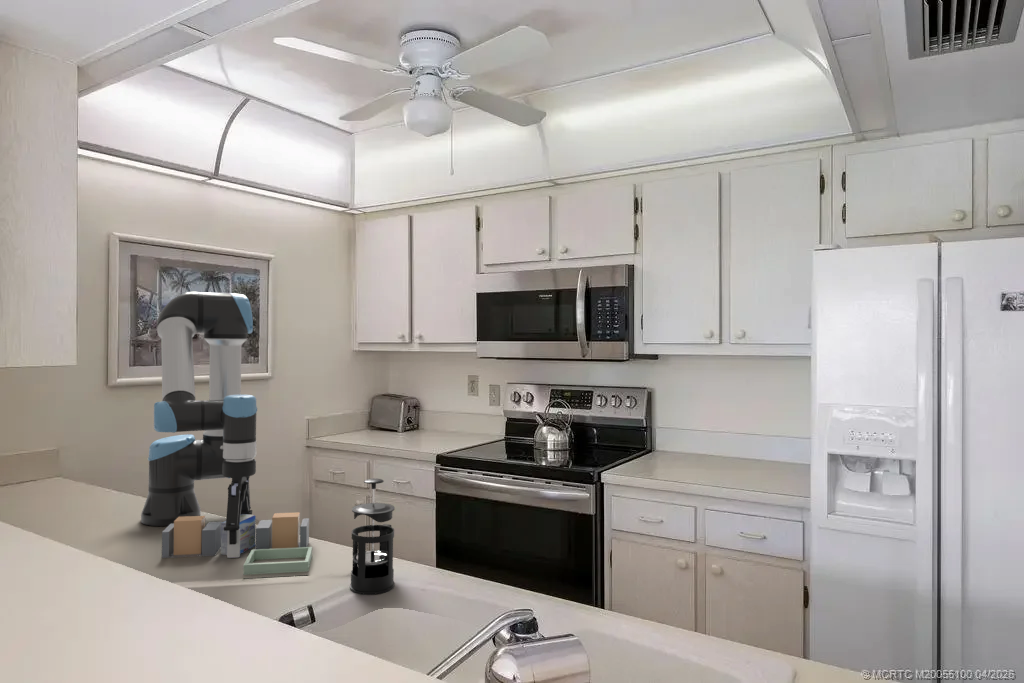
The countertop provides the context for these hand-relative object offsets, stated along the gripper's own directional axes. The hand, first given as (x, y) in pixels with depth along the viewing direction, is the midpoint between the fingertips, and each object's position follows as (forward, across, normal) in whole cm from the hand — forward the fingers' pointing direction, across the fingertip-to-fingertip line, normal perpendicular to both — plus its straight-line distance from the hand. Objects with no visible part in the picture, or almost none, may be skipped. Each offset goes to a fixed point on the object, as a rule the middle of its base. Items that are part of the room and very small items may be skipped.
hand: (238, 549), depth 165 cm
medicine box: (+1, 0, 0) cm, 1 cm away
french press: (+1, +26, +32) cm, 41 cm away
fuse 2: (0, 0, +11) cm, 11 cm away
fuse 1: (0, 0, -11) cm, 11 cm away
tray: (+1, +12, +11) cm, 17 cm away
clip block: (+1, 0, 0) cm, 1 cm away
